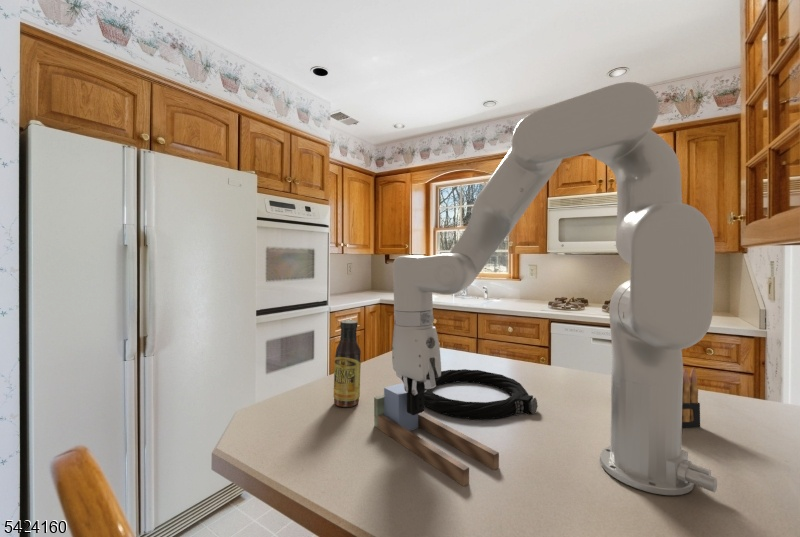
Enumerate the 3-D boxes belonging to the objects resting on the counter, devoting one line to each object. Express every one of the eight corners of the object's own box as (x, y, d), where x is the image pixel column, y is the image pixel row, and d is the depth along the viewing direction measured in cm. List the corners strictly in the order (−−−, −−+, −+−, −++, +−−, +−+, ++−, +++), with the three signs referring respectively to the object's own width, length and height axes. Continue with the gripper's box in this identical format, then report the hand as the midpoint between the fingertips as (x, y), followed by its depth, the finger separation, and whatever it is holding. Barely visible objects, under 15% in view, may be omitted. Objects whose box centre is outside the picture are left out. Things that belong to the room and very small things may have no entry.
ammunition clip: (692, 423, 77) (694, 367, 76) (700, 427, 75) (701, 369, 75) (644, 425, 76) (645, 368, 76) (650, 429, 74) (651, 370, 74)
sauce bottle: (329, 407, 85) (328, 323, 85) (339, 397, 92) (339, 318, 91) (355, 410, 84) (355, 324, 83) (364, 399, 90) (364, 319, 89)
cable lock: (449, 362, 111) (552, 381, 93) (449, 374, 111) (552, 396, 93) (392, 387, 89) (514, 419, 71) (392, 402, 89) (514, 439, 71)
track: (498, 467, 61) (499, 431, 61) (463, 486, 56) (463, 447, 56) (406, 415, 81) (406, 388, 81) (374, 425, 76) (374, 397, 76)
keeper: (418, 427, 75) (418, 389, 75) (398, 435, 72) (398, 394, 72) (403, 419, 79) (403, 382, 79) (384, 425, 76) (384, 387, 76)
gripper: (455, 321, 67) (457, 419, 68) (404, 313, 79) (406, 396, 80) (424, 326, 63) (427, 431, 63) (376, 317, 75) (378, 405, 75)
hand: (415, 412), depth 71 cm, fingers closed
